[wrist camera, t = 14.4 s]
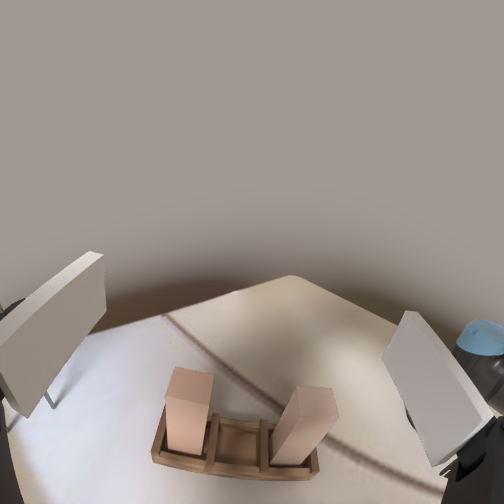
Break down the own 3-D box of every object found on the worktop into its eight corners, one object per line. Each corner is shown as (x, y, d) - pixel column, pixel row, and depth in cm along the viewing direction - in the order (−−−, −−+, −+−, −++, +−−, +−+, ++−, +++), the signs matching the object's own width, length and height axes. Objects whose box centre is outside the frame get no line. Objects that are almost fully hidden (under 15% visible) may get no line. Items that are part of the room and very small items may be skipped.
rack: (303, 434, 36) (311, 422, 35) (309, 480, 28) (319, 470, 26) (166, 416, 35) (165, 402, 33) (153, 462, 26) (150, 451, 25)
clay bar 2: (267, 441, 33) (296, 385, 28) (296, 442, 33) (331, 387, 29) (268, 465, 29) (300, 415, 24) (298, 466, 29) (339, 416, 24)
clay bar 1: (174, 427, 32) (175, 366, 28) (204, 433, 33) (214, 374, 28) (168, 450, 28) (165, 395, 23) (200, 457, 28) (209, 405, 24)
